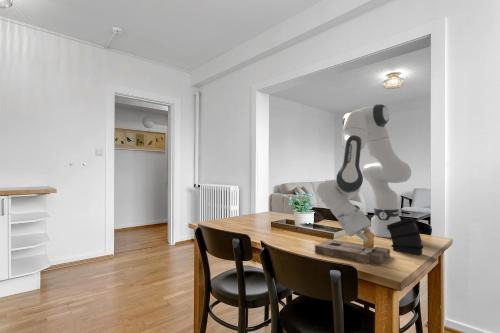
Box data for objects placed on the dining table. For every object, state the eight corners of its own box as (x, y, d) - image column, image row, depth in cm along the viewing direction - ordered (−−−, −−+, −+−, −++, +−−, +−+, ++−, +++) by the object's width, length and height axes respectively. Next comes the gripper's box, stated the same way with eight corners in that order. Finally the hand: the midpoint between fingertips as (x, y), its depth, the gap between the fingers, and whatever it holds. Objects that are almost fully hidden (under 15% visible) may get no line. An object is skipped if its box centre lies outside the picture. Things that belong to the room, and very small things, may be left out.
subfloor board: (329, 245, 130) (329, 238, 130) (389, 256, 113) (389, 248, 113) (315, 252, 119) (315, 245, 119) (379, 265, 102) (379, 256, 102)
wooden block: (365, 255, 114) (365, 231, 114) (375, 257, 112) (374, 232, 112) (362, 258, 111) (361, 233, 111) (372, 260, 109) (371, 234, 109)
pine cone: (327, 225, 177) (326, 209, 177) (320, 227, 169) (320, 211, 169) (301, 222, 188) (301, 207, 188) (294, 224, 180) (294, 209, 180)
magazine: (428, 253, 111) (410, 217, 116) (397, 260, 120) (381, 227, 125) (431, 251, 114) (413, 216, 118) (400, 258, 122) (385, 225, 127)
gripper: (341, 210, 108) (367, 240, 102) (359, 205, 124) (383, 230, 118) (330, 221, 111) (355, 250, 105) (349, 214, 127) (372, 239, 120)
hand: (370, 239), depth 111 cm, fingers open, 5 cm apart
